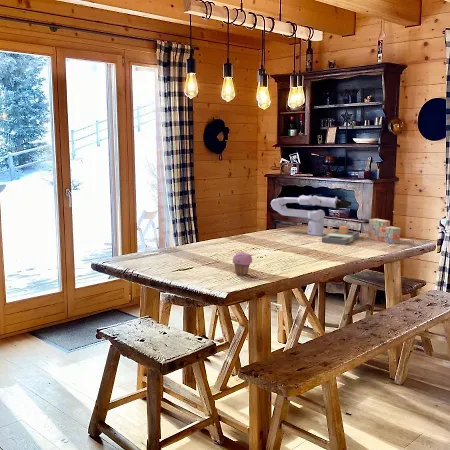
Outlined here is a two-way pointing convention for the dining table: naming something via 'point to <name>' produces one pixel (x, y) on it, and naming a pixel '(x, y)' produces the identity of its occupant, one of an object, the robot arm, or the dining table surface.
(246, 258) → the cupcake
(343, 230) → the block
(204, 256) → the dining table surface
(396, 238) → the stack of blocks
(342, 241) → the trap deck
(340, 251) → the dining table surface
